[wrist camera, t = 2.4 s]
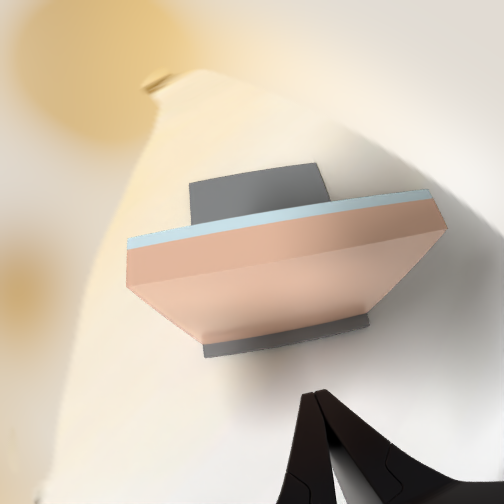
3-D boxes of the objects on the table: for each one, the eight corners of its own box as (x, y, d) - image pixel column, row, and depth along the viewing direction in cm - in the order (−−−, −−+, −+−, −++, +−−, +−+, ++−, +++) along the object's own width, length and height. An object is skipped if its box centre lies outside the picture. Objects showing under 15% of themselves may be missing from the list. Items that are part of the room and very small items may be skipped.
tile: (367, 313, 17) (447, 228, 8) (203, 344, 17) (126, 286, 8) (360, 289, 18) (427, 188, 9) (200, 319, 18) (127, 238, 9)
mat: (367, 326, 17) (369, 325, 17) (205, 358, 17) (204, 357, 16) (315, 166, 23) (315, 162, 22) (190, 186, 23) (189, 183, 22)
